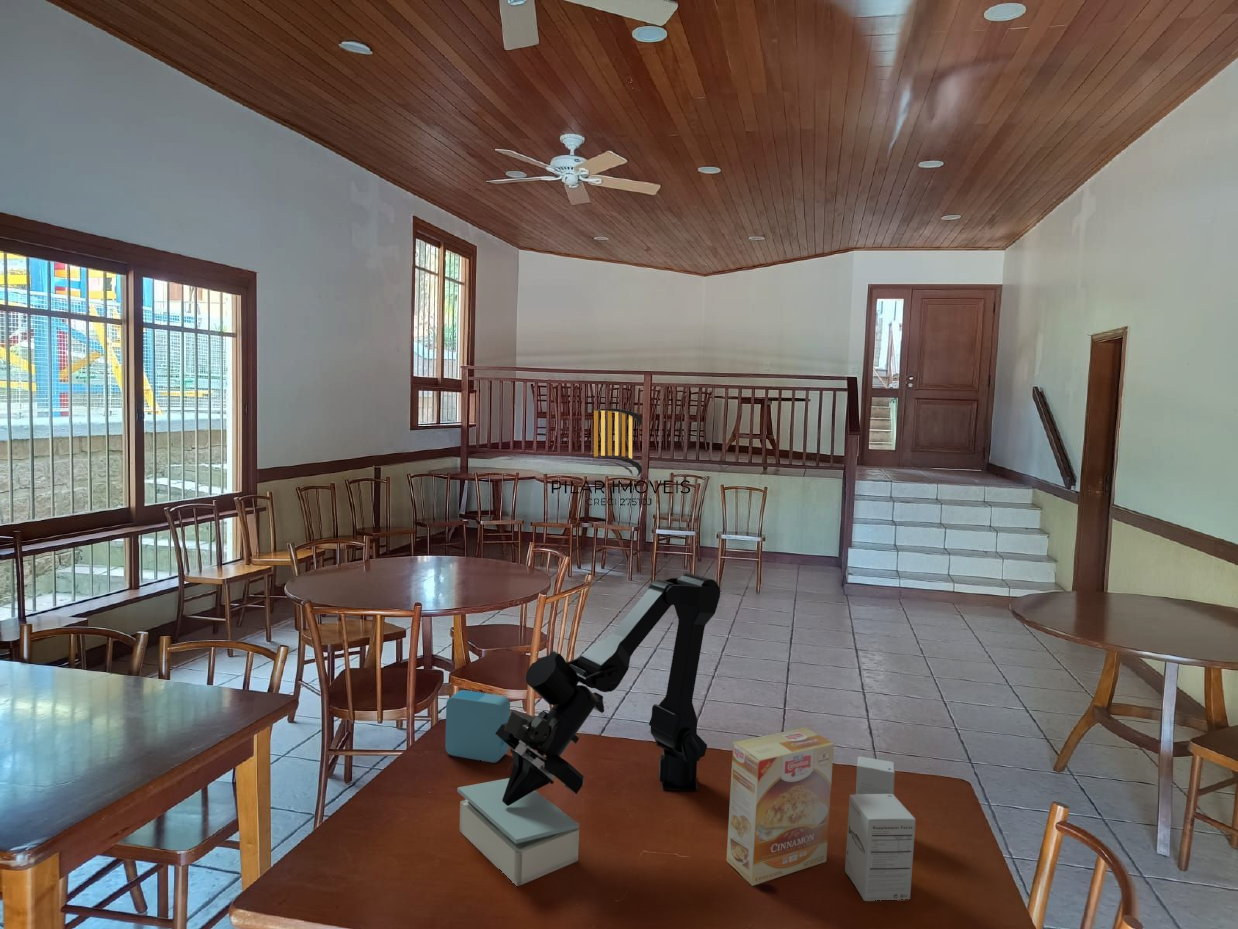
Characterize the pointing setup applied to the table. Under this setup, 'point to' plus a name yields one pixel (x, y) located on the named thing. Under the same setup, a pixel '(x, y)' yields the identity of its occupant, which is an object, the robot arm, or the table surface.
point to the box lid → (517, 812)
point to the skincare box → (874, 776)
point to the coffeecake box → (779, 804)
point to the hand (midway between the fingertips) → (504, 803)
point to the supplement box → (880, 847)
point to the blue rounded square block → (476, 725)
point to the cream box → (518, 847)
